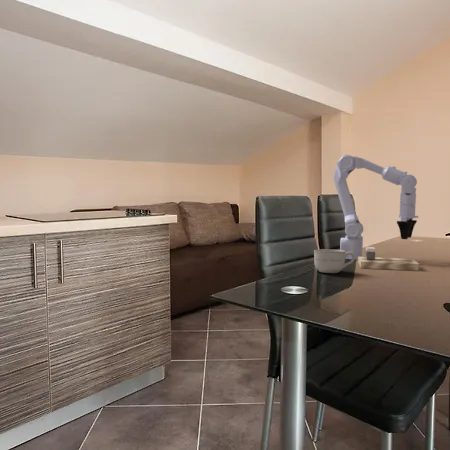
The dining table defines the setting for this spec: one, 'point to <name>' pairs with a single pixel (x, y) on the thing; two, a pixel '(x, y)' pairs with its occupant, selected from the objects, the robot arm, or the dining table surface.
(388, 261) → the console
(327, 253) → the teacup
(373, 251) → the fader
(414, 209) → the robot arm
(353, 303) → the dining table surface
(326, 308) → the dining table surface
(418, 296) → the dining table surface
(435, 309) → the dining table surface
